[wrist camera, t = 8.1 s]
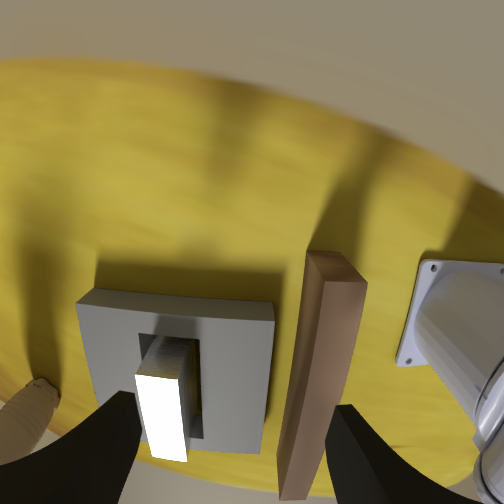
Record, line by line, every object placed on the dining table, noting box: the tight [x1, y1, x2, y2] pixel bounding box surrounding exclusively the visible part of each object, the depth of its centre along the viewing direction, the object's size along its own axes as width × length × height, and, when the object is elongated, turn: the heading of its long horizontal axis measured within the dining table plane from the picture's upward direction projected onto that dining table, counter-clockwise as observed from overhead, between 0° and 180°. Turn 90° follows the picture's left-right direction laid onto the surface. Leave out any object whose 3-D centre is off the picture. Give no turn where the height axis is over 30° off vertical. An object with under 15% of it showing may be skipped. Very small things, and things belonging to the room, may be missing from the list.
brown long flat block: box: [276, 250, 368, 501], centre depth 18 cm, size 2×18×5 cm, turn 177°
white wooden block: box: [135, 335, 198, 462], centre depth 18 cm, size 2×7×6 cm, turn 177°
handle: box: [0, 378, 60, 465], centre depth 14 cm, size 5×6×15 cm
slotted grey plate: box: [76, 288, 275, 454], centre depth 19 cm, size 12×11×2 cm
